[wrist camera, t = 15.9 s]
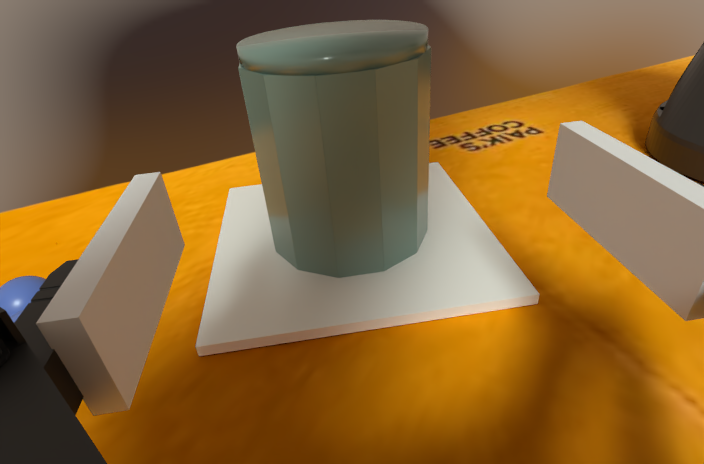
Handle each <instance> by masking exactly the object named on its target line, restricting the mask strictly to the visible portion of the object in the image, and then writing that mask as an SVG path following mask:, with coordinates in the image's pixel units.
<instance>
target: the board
mask: <svg viewBox="0 0 704 464" xmlns="http://www.w3.org/2000/svg"><path fill="white" fill-rule="evenodd" d="M539 295H540V294H539V293H538V291H537V290H536V289H535V288H534V286H533V285H532V284H531V282H530V281H529V280H528V278H527V277H526V276H525V275H524V273H523V272H522V271H521V269H520V268H519V267H518V265H517V264H516V263H515V262H514V260H513V259H512V258H511V256H510V255H509V254H508V253H507V251H506V250H505V249H504V247H503V246H502V245H501V243H500V242H499V241H498V240H497V238H496V237H495V236H494V234H493V233H492V232H491V230H490V229H489V228H488V227H487V225H486V224H485V223H484V221H483V220H482V219H481V217H480V216H479V215H478V214H477V212H476V211H475V210H474V208H473V207H472V206H471V204H470V203H469V202H468V201H467V199H466V198H465V197H464V195H463V194H462V193H461V191H460V190H459V189H458V188H457V186H456V185H455V184H454V182H453V181H452V180H451V178H450V177H449V176H448V175H447V173H446V172H445V171H444V169H443V168H442V167H441V165H440V164H439V163H438V162H434V163H429V181H428V230H427V232H426V235H425V237H424V239H423V241H422V243H421V245H420V247H419V249H418V252H417V253H416V254H414V255H412V256H410V257H409V258H407V259H405V260H403V261H402V262H400V263H398V264H396V265H394V266H393V267H391V268H389V269H387V270H386V271H383V272H376V273H369V274H363V275H356V276H349V277H342V278H336V277H331V276H326V275H321V274H316V273H311V272H306V271H301V270H297V269H296V268H295V267H294V266H292V265H291V264H290V263H289V262H288V261H287V260H285V259H284V258H283V257H282V256H281V255H279V254H278V253H277V252H276V250H275V245H274V241H273V236H272V231H271V226H270V221H269V216H268V211H267V206H266V201H265V196H264V191H263V187H262V184H261V185H253V186H245V187H237V188H230V189H229V194H228V199H227V203H226V208H225V212H224V217H223V222H222V226H221V231H220V235H219V240H218V245H217V249H216V254H215V259H214V263H213V268H212V272H211V277H210V282H209V286H208V291H207V295H206V300H205V305H204V309H203V314H202V318H201V323H200V328H199V332H198V337H197V342H196V346H195V348H196V350H197V353H198V356H205V355H211V354H218V353H224V352H230V351H237V350H243V349H250V348H256V347H263V346H269V345H276V344H282V343H288V342H295V341H301V340H308V339H314V338H321V337H327V336H334V335H340V334H346V333H353V332H359V331H366V330H372V329H379V328H385V327H392V326H398V325H404V324H411V323H417V322H424V321H430V320H437V319H443V318H449V317H456V316H462V315H469V314H475V313H482V312H488V311H495V310H501V309H507V308H514V307H520V306H527V305H533V304H538V300H539Z"/></svg>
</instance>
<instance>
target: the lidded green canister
mask: <svg viewBox="0 0 704 464" xmlns="http://www.w3.org/2000/svg"><path fill="white" fill-rule="evenodd" d="M237 52H238V57H239V62H240V65H239V67H238V69H239V74H240V79H241V83H242V88H243V93H244V98H245V103H246V108H247V113H248V118H249V122H250V128H251V132H252V137H253V142H254V147H255V152H256V157H257V162H258V167H259V172H260V177H261V182H262V187H263V191H264V196H265V201H266V206H267V211H268V216H269V221H270V226H271V231H272V236H273V241H274V245H275V250H276V252H277V253H278V254H279V255H281V256H282V257H283V258H284V259H285V260H287V261H288V262H289V263H290V264H291V265H292V266H294V267H295V268H296V269H297V270H301V271H306V272H311V273H316V274H321V275H326V276H331V277H336V278H342V277H349V276H356V275H363V274H369V273H376V272H383V271H386V270H387V269H389V268H391V267H393V266H394V265H396V264H398V263H400V262H402V261H403V260H405V259H407V258H409V257H410V256H412V255H414V254H416V253H417V252H418V249H419V247H420V245H421V243H422V241H423V239H424V237H425V235H426V232H427V230H428V181H429V131H430V78H431V47H430V46H428V28H427V27H426V26H425V25H422V24H419V23H415V22H407V21H396V20H358V21H357V20H356V21H340V22H328V23H318V24H310V25H302V26H295V27H290V28H283V29H278V30H273V31H269V32H265V33H261V34H257V35H254V36H251V37H248V38H246V39H243V40H242V41H240V42H239V43H238V44H237Z"/></svg>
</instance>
